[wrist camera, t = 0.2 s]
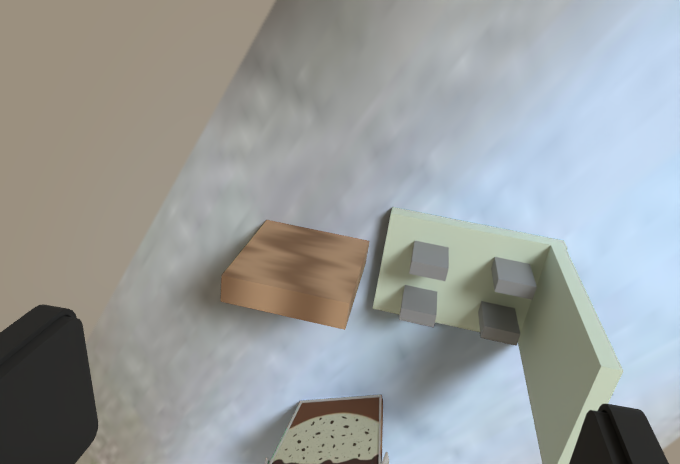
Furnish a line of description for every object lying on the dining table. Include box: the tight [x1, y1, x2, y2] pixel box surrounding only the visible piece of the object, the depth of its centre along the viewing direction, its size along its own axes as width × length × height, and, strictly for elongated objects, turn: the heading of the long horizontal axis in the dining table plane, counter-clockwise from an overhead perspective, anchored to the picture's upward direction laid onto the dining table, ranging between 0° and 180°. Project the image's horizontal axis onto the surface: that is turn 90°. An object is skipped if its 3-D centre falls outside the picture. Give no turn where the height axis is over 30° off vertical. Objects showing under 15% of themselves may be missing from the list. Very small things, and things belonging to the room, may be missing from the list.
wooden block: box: [221, 220, 369, 330], centre depth 45 cm, size 10×3×11 cm, turn 82°
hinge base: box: [373, 207, 623, 464], centre depth 40 cm, size 15×10×18 cm, turn 82°
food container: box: [265, 395, 389, 464], centre depth 53 cm, size 12×6×10 cm, turn 105°
